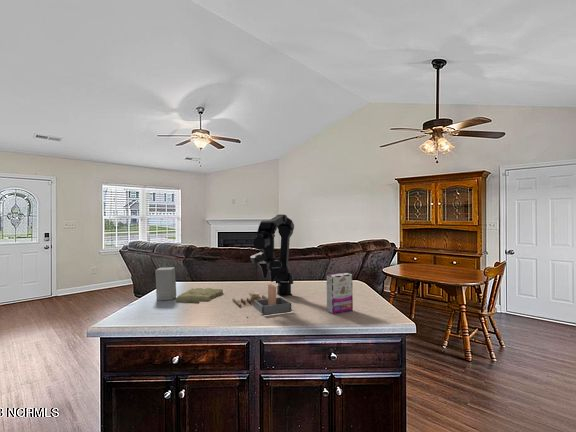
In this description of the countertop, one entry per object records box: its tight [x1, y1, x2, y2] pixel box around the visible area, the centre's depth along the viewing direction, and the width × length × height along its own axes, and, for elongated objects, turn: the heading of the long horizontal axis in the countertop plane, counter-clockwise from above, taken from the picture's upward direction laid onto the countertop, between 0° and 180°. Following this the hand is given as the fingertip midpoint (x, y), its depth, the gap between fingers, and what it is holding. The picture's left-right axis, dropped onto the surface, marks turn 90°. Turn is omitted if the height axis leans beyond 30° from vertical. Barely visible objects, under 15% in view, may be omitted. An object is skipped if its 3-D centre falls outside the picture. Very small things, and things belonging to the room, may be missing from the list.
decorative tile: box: [175, 287, 224, 303], centre depth 168 cm, size 19×20×4 cm
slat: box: [267, 284, 277, 305], centre depth 146 cm, size 1×6×10 cm, turn 25°
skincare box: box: [155, 266, 177, 301], centre depth 165 cm, size 8×7×16 cm
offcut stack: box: [248, 291, 262, 304], centre depth 156 cm, size 4×5×4 cm
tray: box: [253, 296, 292, 316], centre depth 145 cm, size 14×12×4 cm
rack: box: [232, 295, 268, 308], centre depth 156 cm, size 16×12×2 cm
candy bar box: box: [326, 272, 354, 315], centre depth 144 cm, size 11×5×16 cm, turn 117°
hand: (268, 279), depth 154 cm, fingers open, 9 cm apart
